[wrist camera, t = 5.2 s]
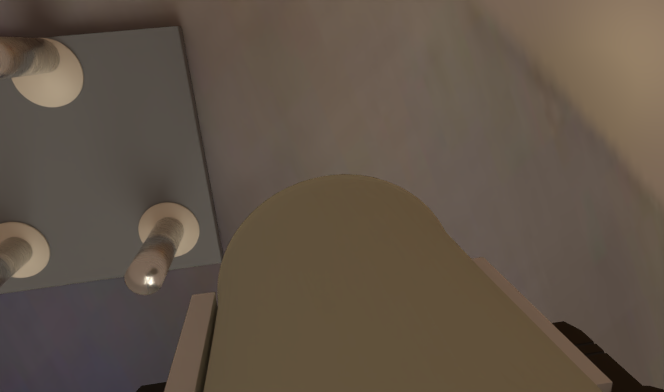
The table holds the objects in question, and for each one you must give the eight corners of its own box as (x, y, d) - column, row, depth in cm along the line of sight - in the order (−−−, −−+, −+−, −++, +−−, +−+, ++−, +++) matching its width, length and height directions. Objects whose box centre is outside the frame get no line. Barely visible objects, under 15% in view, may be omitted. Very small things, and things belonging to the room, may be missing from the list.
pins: (187, 240, 32) (166, 291, 25) (6, 265, 30) (-65, 325, 24) (142, 28, 27) (103, 23, 20) (-72, 47, 26) (-187, 48, 19)
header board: (223, 255, 34) (221, 264, 32) (-6, 287, 32) (-18, 297, 31) (181, 26, 28) (177, 25, 27) (-95, 50, 27) (-114, 50, 25)
